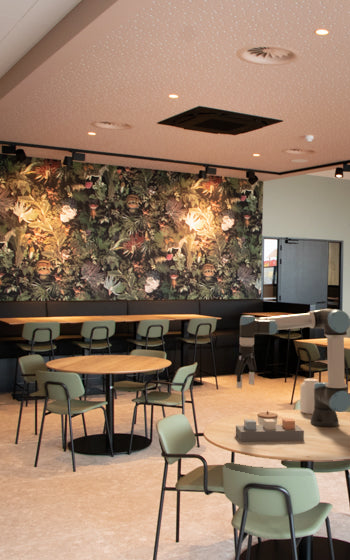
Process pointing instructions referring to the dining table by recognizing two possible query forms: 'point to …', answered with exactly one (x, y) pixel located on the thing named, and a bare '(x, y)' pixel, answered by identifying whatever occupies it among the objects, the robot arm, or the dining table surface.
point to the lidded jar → (266, 416)
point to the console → (269, 434)
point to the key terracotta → (288, 424)
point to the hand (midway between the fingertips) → (245, 386)
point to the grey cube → (249, 424)
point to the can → (307, 395)
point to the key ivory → (269, 424)
